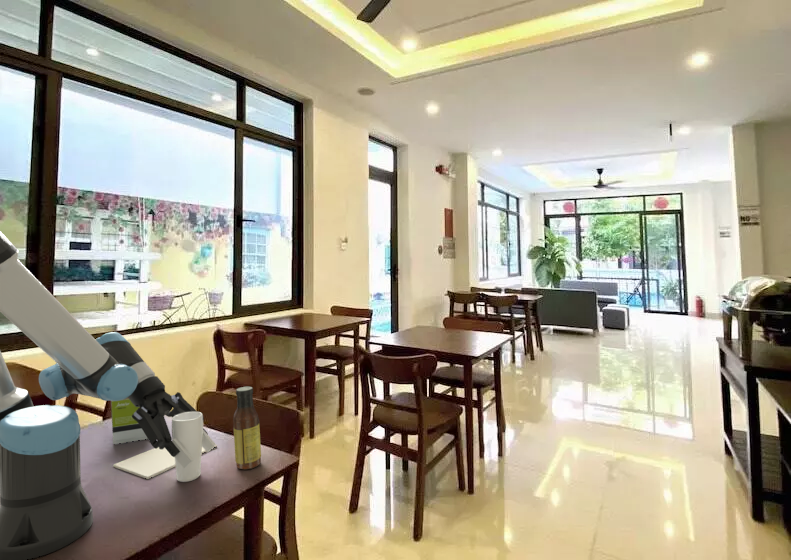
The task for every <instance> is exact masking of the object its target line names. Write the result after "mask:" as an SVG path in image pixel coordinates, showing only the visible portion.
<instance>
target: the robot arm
mask: <svg viewBox="0 0 791 560" xmlns="http://www.w3.org/2000/svg"><path fill="white" fill-rule="evenodd" d="M18 257H19V249H18V248H17V247H16V246H15V245H14V244H13V243H12V242H11V241H10V239H9V238H7V237H6V235H5V234H4V233H2V231H0V314H2V315H3V316H4V317H5V318H6V319H7V320H9V322H10V323H12V324H13V325H14V326H15V327H16V328H17V329H18V330H20V331H21V332H22V333H23V334H24V336H26V337H27V338H28V339H30V340H31V341H32V342H33V343H34V344H35V345H36V346H37V347H38V348H40V349H41V350H42V351H43V352H44V353H45V354H46V355H47V356H48V357H49V358H51V359H52V360H53V361H54V362H55V363H54V364H52V365H50V366H48V367H46V368H44V369H42V370H41V371H40V373H39V375H38V383H39V386H40V389H41V391H42V392H43V394H44V395H45V396H46V398H49V399H50V400H52V401H58V400H61V399H63V398H68V397H69V396H71V395H74V394H77V395H81V396H87V397H91V398H96V399H100V400H101V401H104V402H105V401H106V402H107V401H110V402H111V401H120V400H123V399H125V398H127V397H128V398H129V399H130V401H131V402H132V403H133V404H134V405H135V406H136V407H140V408H138V409H137V410H136V412H135V413H134V414H133V415H132V418H133V419H134V420H136V421H137V422H138V423H139V425H140V427H141V428H142V430H143V431H144V433H145V435H146V436H147V438H148V439H147V440H148V441H149V442H150V444H151V446H152V448H153V449H154V448H155V449H157V448H158V447H159V449H161V450H162V449H164V448H165V449H166V450H167V451H168V452H169V453H170V455H171V456H173V457H175V458H176V459H177V460H178V462H179V463H180V464H181V465H182V466H183V468H185V467H187V466H188V465H189V464H190V463H191V461H192V460H193V458H192V457H191V456H190V455H189V453H188V452H187V451H186V450H185V449H184V447H183V446H182V445H181V444H180V443H179V441H178V440H177V439H176V438H175V439H173V440H172V434H171V432H170V430H169V427H168V424H167V421H166V418H165V416H166V417H168V418H173V417H174V416H175V415H177V414H180V413H184V412H198V411H197V410H196V408H194V407H193V405H192V404H190V403H189V402H188V401H186V399H185V398H184V397H183V395H182V394H181V393H180V392H175V394H173V395H172V394H169V393H168V392H167V391H166V385H165V383H163V382H162V381H161V379H160V378H159V377H158V376H156V374H155V372H154V371H153V369H152V368H151V367H150V366H149V365H148V363H146V362H145V361H144V360H143V358H142V356H141V355H140V354H139V353H138V352H137V351H136V350H135V348H134V347H133V346H132V345H131V342H130V341H128V340H127V339H126V337H124V336H123V335H122V334H121V333H119V332H117V331H114V332H113V331H111V332H106V333H105V334H102V335H101V336H100V337H97V338H96V339H95V338H94V336H93V335H92V334H91V333H90V332H88V330H87V329H86V328H85V327H84V326H83V325H82V324H81V323H80V322H79V321H78V320H77V319H76V318H75V317H74V316H73V315H72V314H71V313H70V312H69V310H67V308H66V307H64V305H63V304H62V303H61V302H60V301H59V300H58V298H56V297H55V296H54V295H53V294H52V293H51V292H50V290H48V289H47V288H46V286H44V284H42V282H41V281H40V280H39V279H37V278H36V277H35V275H34V274H33V273H32V272H31V271H30V270H29V269H28V268H27V267H26V266H25V265H24V264H23V262H21V261H20V260H19V259H18ZM204 419H205V418H204V417H203V421H204ZM81 429H82V428H81V424H80V419H79V415H78V413H77V411H76V410H74V409H73V408H71V407H69V406H66V405H59V404H55V405H50V404H45V405H44V404H43V405H35V406H34V404H33V401H32V398H31V395H30V394H29V391H28V390H27V389H25V388H21V387H17V386H16V385H15V383H14V380H13V378H12V376H11V373H10V371H9V369H8V366H7V363H6V362H5V359H4V357H3V354H2V351H1V350H0V560H27V559H29V560H32V558H33V559H36V558H39V556H40V557H42V556H45V555H48V554H51V553H54V552H55V551H58V550H60V549H63V548H64V547H66V546H68V545H70V544H71V543H73V542H75V541H76V540H78V539H79V538H80V537H82V536H83V535H84V534H85V533H87V532H88V531H89V529H90V528H91V526H92V525H93V522H94V514H93V507H92V505H91V502H90V501H89V499H88V497H87V495H86V492H85V491H84V488H83V486H82V483H81V482H82V481H81V479H82V477H81V473H82V472H81V470H82V469H81V438H80V437H81V436H80V435H81ZM215 445H217V444H216V443H215V441H214V440H213V439H212V438H211V437H210V436H209V433H208V432H207V431H206V429H205V428H204V427H203V440H202V447H203V448H204V449H205V450H206V453H209V452H211V451H212V450H213V449H212V448H213V447H214V446H215ZM211 449H212V450H211Z"/></svg>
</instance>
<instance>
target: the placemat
mask: <svg viewBox="0 0 791 560" xmlns="http://www.w3.org/2000/svg"><path fill="white" fill-rule="evenodd" d="M216 446H217V447H218V445H217V444H216V445H215V446H214V447H216ZM214 447H213V448H214ZM214 449H215V448H214ZM204 452H206V450H205V449H204V448H203V447H202V453H204ZM202 453H201V455H203V454H202ZM206 453H207V452H206ZM204 454H205V453H204ZM112 466H113V468H116V469H118V470H121V471H124V472H127V473H130V474H132V475H135V476H138V477H140V478H142V479H145V478H146V480H149V479H152V478H154V477H156V476H158V475H160V474H163V473H165V472H166V471H169V470H171V469H173V468H176V467H175V458H174V457H173V456H171V455H170V453H169V452H168V451H167V450H166V449H165V448H164V449H162V450H161V449H159V447H158V448H157V449H155V448H154V447H153V448H152V449H149V450H146V451H145V452H141V453H139V454H136V455H134V456H131V457H129V458H127V459H124V460H122V461H119V462H116V463H114V464H113V465H112ZM151 477H152V478H151Z"/></svg>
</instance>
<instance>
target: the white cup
mask: <svg viewBox="0 0 791 560" xmlns="http://www.w3.org/2000/svg"><path fill="white" fill-rule="evenodd" d="M203 418H204V415H203V413H202V412H200V411H197V412H184V413H180V414H177V415H175V416H174V417H171V438H172V440H173V439H175V438H176V439H177V440H178V441H179V443H180V444H181V445H182V446H183V447H184V449H185V450H186V451H187V452H188V453H189V455H190V456H191V457H192V458H193V460H192V461H191V463H190V464H189V465H188V466H187V467H185V468H183V466H182V465H181V464H180V463H179V462H178V460H177V459H176V458H175V457H174V458H175V467H174V468H175V477H176V480H177V481H178V482H181V483H188V482H191V481H195V480H196V479H198V478H199V477H200V475H201V473H202V469H201V468H202V467H201V465H202V454H201V453H202V440H203V428H204V420H203ZM172 440H171V441H172Z"/></svg>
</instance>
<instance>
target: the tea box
mask: <svg viewBox="0 0 791 560" xmlns="http://www.w3.org/2000/svg"><path fill="white" fill-rule="evenodd" d="M110 402H111V403H110V405H111V424H112V425H111V426H112V427H111V429H112V445H114V444H115V445H120V444H119V443H121V444H127V443H126V442H128V443H133V442H132V441H134V442H139V441H138V440H140V441H145V439H146V440H148V438H147V436H146V435H145V433H144V431H143V430H142V428H141V427H140V425H139V423H138V422H137V421H136V420H134V419H133V418H132V415H133V414H134V413H135V412H136V410H137V409H138V408H140V407H136V406H135V405H134V404H133V403H132V402H131V401H130V399H129V398H128V397H127V398H125V399H123V400H120V401H110Z"/></svg>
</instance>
